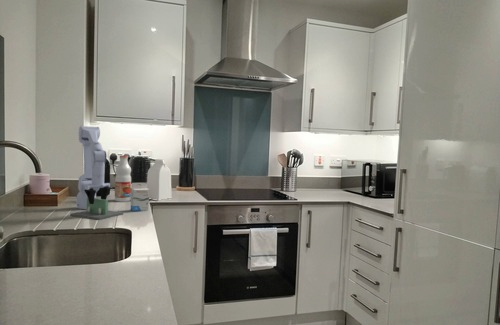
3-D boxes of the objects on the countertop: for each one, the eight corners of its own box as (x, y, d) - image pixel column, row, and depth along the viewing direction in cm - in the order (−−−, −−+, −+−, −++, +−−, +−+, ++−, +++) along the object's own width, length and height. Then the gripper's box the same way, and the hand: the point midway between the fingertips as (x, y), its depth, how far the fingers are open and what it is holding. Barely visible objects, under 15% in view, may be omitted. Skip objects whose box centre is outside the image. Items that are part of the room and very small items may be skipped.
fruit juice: (118, 199, 233) (120, 155, 232) (133, 200, 232) (134, 155, 231) (111, 201, 223) (112, 155, 222) (126, 202, 222) (127, 156, 221)
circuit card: (86, 211, 182) (86, 197, 182) (88, 211, 184) (89, 197, 183) (105, 214, 178) (105, 200, 178) (107, 214, 179) (108, 199, 179)
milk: (145, 198, 239) (146, 159, 237) (158, 197, 248) (159, 158, 247) (158, 201, 232) (160, 160, 231) (171, 199, 242) (172, 159, 241)
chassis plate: (70, 215, 177) (70, 207, 177) (95, 210, 192) (95, 203, 191) (99, 219, 170) (99, 211, 170) (123, 214, 185) (123, 206, 185)
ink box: (132, 211, 194) (133, 183, 193) (130, 210, 198) (131, 182, 197) (148, 210, 198) (149, 183, 198) (145, 209, 203) (146, 182, 202)
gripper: (93, 176, 172) (92, 205, 172) (115, 175, 185) (114, 201, 186) (81, 175, 174) (81, 204, 175) (104, 174, 188) (103, 200, 188)
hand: (97, 202), depth 181 cm, fingers open, 7 cm apart
